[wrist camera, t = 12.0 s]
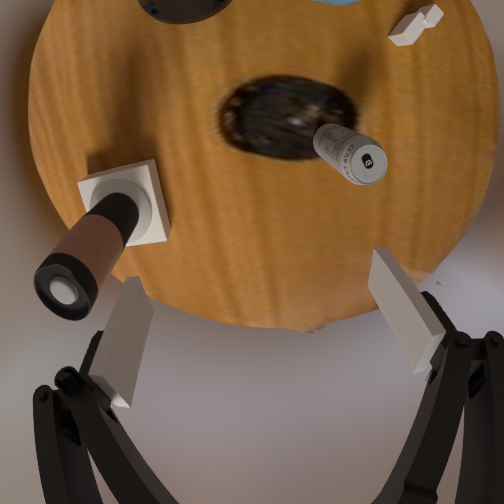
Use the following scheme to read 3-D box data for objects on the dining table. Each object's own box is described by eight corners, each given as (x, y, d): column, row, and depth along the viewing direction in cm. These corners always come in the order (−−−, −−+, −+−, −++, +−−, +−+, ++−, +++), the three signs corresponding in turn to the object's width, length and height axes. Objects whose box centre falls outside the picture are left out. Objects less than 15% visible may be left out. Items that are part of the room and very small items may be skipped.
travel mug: (111, 239, 43) (60, 326, 26) (90, 200, 39) (21, 275, 22) (149, 225, 42) (104, 315, 25) (128, 182, 38) (62, 256, 21)
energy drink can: (322, 164, 43) (358, 198, 31) (304, 133, 41) (336, 155, 28) (352, 147, 42) (398, 174, 29) (336, 116, 39) (380, 130, 26)
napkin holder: (385, 57, 34) (403, 55, 29) (365, -2, 28) (381, -10, 23) (447, 56, 32) (466, 56, 27) (431, 3, 26) (449, -1, 21)
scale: (85, 175, 41) (72, 185, 37) (154, 158, 41) (145, 166, 37) (105, 239, 48) (96, 253, 44) (171, 229, 48) (165, 243, 44)
